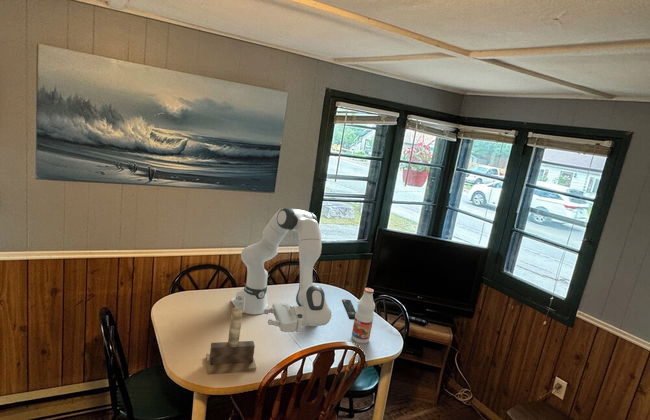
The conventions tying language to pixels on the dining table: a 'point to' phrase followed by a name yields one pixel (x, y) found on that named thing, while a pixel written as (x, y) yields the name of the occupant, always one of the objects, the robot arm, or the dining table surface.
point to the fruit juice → (364, 317)
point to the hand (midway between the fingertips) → (266, 316)
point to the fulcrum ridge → (231, 358)
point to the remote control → (349, 308)
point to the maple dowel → (235, 327)
